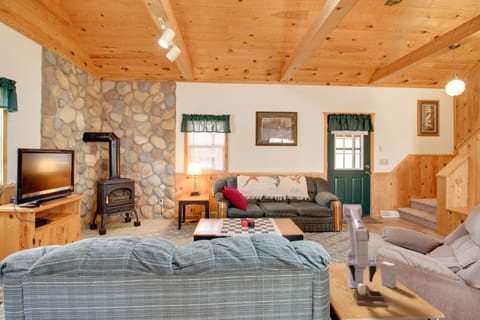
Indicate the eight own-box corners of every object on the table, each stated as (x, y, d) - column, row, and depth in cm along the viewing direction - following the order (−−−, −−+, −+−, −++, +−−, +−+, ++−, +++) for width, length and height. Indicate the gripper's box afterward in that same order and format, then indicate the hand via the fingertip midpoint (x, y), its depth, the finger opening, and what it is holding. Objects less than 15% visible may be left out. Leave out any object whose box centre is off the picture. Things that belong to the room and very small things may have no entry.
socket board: (353, 295, 142) (352, 289, 142) (380, 297, 140) (380, 291, 140) (357, 304, 133) (357, 298, 133) (387, 306, 131) (386, 300, 131)
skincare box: (396, 286, 151) (396, 264, 151) (391, 288, 149) (391, 265, 149) (385, 282, 156) (385, 260, 156) (380, 284, 154) (380, 262, 154)
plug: (357, 295, 140) (357, 283, 140) (365, 296, 139) (364, 283, 140) (358, 298, 137) (358, 286, 137) (366, 299, 136) (366, 286, 136)
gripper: (347, 255, 136) (348, 283, 136) (380, 256, 133) (380, 285, 133) (345, 250, 143) (345, 277, 143) (375, 251, 140) (376, 279, 140)
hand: (362, 281), depth 138 cm, fingers open, 7 cm apart
